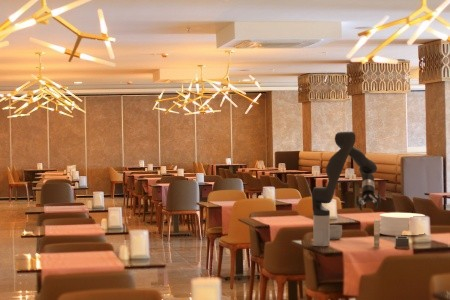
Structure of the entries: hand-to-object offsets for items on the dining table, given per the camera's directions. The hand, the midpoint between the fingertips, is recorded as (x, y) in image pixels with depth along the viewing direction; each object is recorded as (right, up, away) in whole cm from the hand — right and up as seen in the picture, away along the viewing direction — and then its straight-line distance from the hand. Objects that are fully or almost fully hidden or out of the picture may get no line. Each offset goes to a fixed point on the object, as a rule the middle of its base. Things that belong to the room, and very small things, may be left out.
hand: (368, 208), depth 534 cm
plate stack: (+27, -18, +36) cm, 49 cm away
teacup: (-19, -19, +11) cm, 29 cm away
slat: (+1, -20, -23) cm, 31 cm away
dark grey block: (+15, -20, -26) cm, 36 cm away
